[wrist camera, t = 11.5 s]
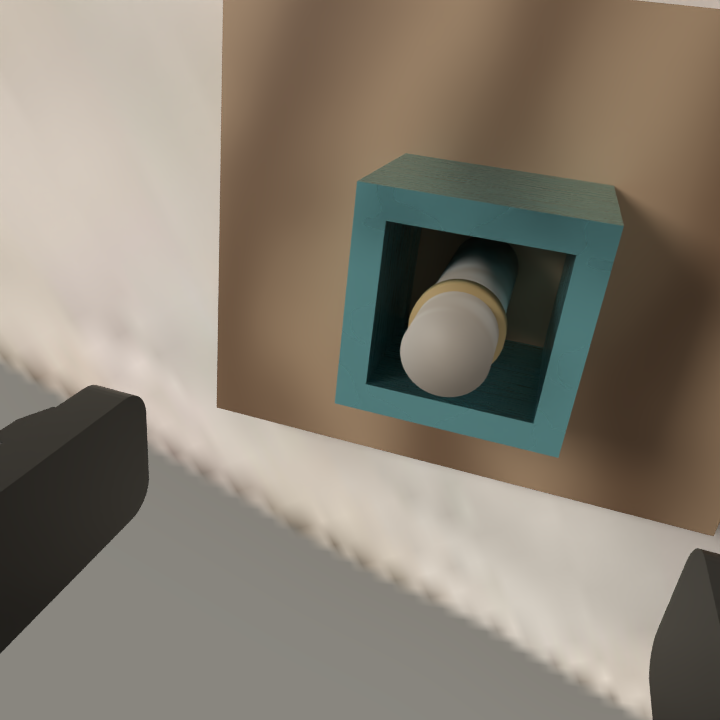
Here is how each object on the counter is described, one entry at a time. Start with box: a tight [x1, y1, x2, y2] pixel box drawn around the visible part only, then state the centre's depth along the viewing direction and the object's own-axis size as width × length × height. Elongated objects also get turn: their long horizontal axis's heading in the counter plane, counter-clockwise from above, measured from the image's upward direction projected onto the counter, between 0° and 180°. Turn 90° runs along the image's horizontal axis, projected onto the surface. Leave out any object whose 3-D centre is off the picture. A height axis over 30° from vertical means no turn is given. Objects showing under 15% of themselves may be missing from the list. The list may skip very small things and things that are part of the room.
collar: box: [335, 153, 624, 458], centre depth 19 cm, size 6×6×5 cm
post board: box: [217, 0, 720, 536], centre depth 19 cm, size 18×15×9 cm
